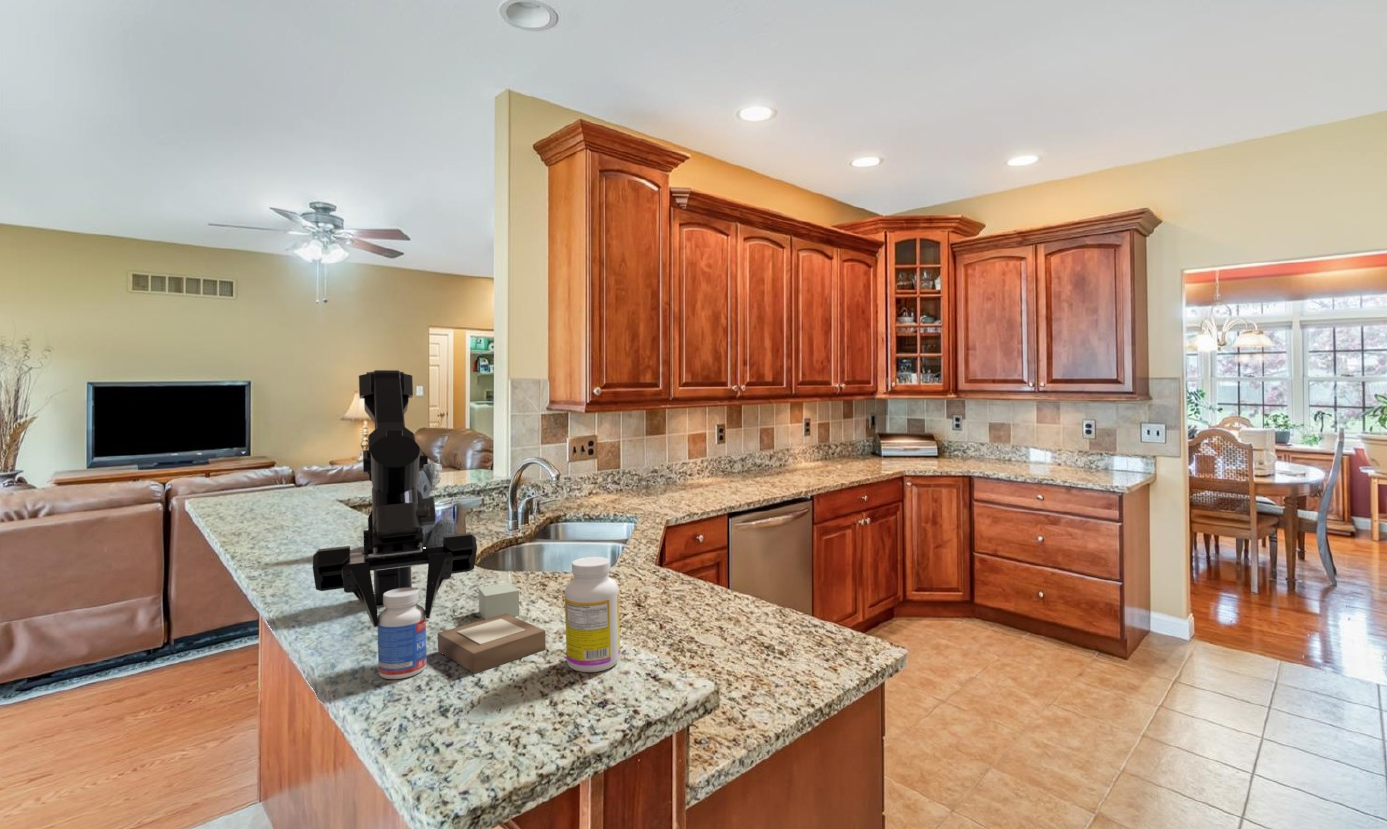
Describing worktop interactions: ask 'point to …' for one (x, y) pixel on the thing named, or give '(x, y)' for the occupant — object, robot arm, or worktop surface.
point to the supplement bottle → (592, 616)
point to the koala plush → (425, 485)
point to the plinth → (491, 642)
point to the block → (498, 600)
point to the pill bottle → (401, 634)
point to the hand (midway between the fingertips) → (402, 621)
